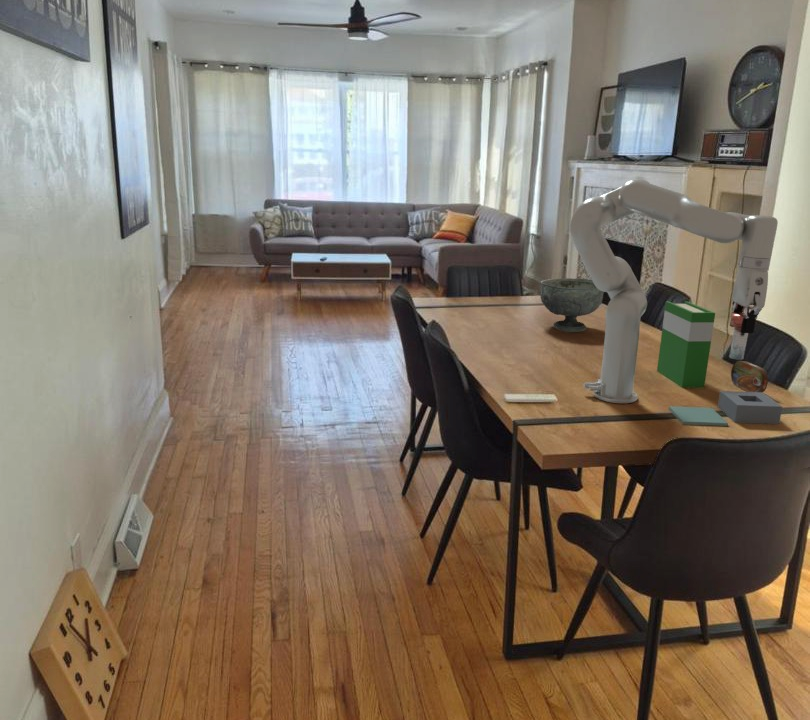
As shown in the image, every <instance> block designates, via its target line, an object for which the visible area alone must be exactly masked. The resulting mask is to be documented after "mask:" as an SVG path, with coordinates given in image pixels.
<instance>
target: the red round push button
mask: <svg viewBox="0 0 810 720" xmlns="http://www.w3.org/2000/svg"><path fill="white" fill-rule="evenodd" d="M731 316H732V317H730V321H729V326H730V325H731V326H734V327H733V334H732V339H731V345H730V349H729V355H728V358H729V359H732V360H735V361H736V360H737V361H742V360H744V357H745V353H746V347H747V342H748V337H749V333H742V332H741V326H742V321H743V318H745V312H742V313H732V312H731ZM731 326H730V327H731Z"/></svg>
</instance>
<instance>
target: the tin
mask: <svg viewBox="0 0 810 720" xmlns="http://www.w3.org/2000/svg"><path fill="white" fill-rule="evenodd" d="M730 371H731V372H730V378H731V381H732V383H733V385H734V386H735V387H737V388H739V389H741V390H743V391H744V392H763V393H764V392H765V391H766V389H767V387H768V383H769V376H768V375H769V374H768V372H767V371H766V370H765V368H763V367H761V366H758V365H756V364H753V363H751V362H750V361H742V360H737V361H736V362H734V364H733V365H732V367H731V370H730Z"/></svg>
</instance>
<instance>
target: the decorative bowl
mask: <svg viewBox="0 0 810 720" xmlns="http://www.w3.org/2000/svg"><path fill="white" fill-rule="evenodd" d="M604 293H605V292H603V291H600V290H599V289H598V288H597V287H596V286H595V285H594V283H593V281H592V279H591V278H590V279H588V278H567V277H566V278H550V279H545V280H544V279H543V280H541V282H540V295H539V296H540V301H541V303H542V304H543V305H544V306H545V308H546V310H548V311H549V312H550V313H552V314H554V315H557V316H564V317H565V318H564V319H563V320H558V321H555V322H554V323H553V328H554V329H556V330H558V331H561V332H568V333H581V332H585V331H586V330H587V327H586V325H585V324H584V323H583V322H581V321H578V319H577V318H578V317H582V316H586V315H590V314H591V313H594V312H595V311H597V309H599V308H600V306H601V305H602V302H603V299H604Z"/></svg>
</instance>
